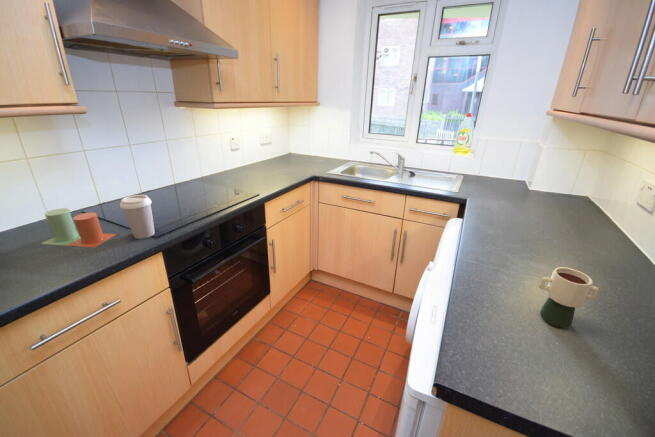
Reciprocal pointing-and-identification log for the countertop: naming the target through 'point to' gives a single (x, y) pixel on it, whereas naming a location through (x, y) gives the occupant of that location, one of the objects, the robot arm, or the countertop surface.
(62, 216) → the mint green cylinder
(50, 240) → the board
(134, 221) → the coffee cup
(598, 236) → the countertop surface
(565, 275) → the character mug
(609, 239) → the countertop surface
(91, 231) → the orange cylinder on base
